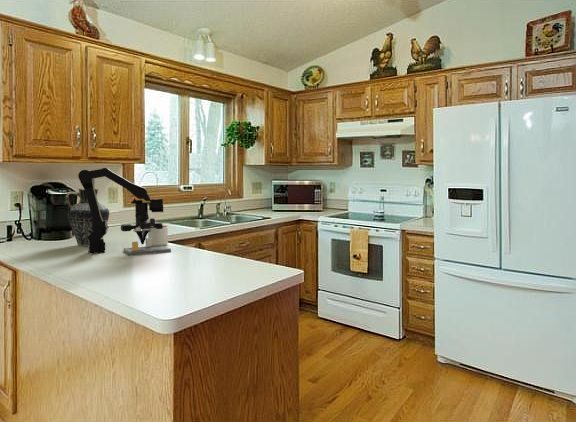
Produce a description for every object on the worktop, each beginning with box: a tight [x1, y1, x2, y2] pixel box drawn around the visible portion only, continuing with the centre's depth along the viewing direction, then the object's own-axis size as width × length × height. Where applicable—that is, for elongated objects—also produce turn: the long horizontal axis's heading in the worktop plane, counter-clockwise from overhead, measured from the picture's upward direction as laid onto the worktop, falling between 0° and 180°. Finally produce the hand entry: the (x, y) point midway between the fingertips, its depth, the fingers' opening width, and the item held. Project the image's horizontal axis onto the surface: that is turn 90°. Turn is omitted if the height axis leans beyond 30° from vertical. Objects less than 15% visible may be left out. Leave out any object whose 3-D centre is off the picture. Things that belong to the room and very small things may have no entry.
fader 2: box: [145, 237, 152, 247], centre depth 197 cm, size 2×2×4 cm
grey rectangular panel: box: [123, 245, 172, 257], centre depth 193 cm, size 19×13×2 cm
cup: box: [147, 225, 169, 246], centre depth 212 cm, size 10×10×10 cm
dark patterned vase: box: [64, 187, 110, 247], centre depth 208 cm, size 21×19×30 cm
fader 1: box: [131, 240, 139, 251], centre depth 186 cm, size 2×2×4 cm
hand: (142, 244), depth 196 cm, fingers closed
